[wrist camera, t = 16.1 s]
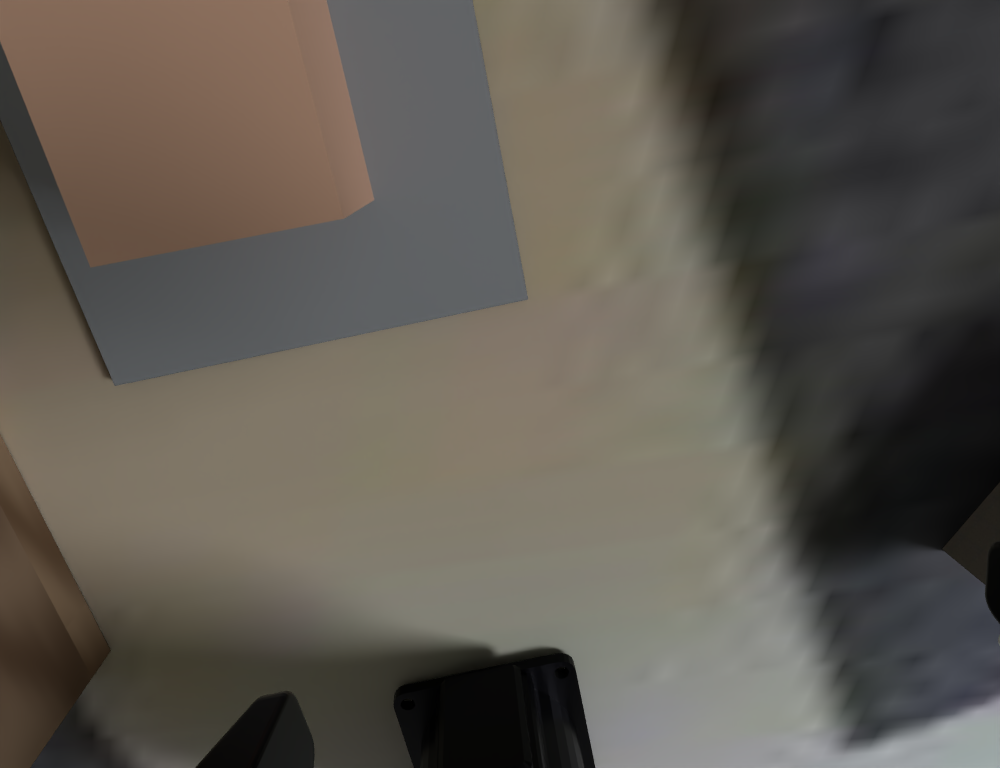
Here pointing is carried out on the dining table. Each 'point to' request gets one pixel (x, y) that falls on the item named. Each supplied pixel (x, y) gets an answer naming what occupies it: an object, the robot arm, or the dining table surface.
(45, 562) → the brown open box
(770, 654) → the dining table surface
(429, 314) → the mat
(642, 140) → the dining table surface
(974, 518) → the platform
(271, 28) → the block
